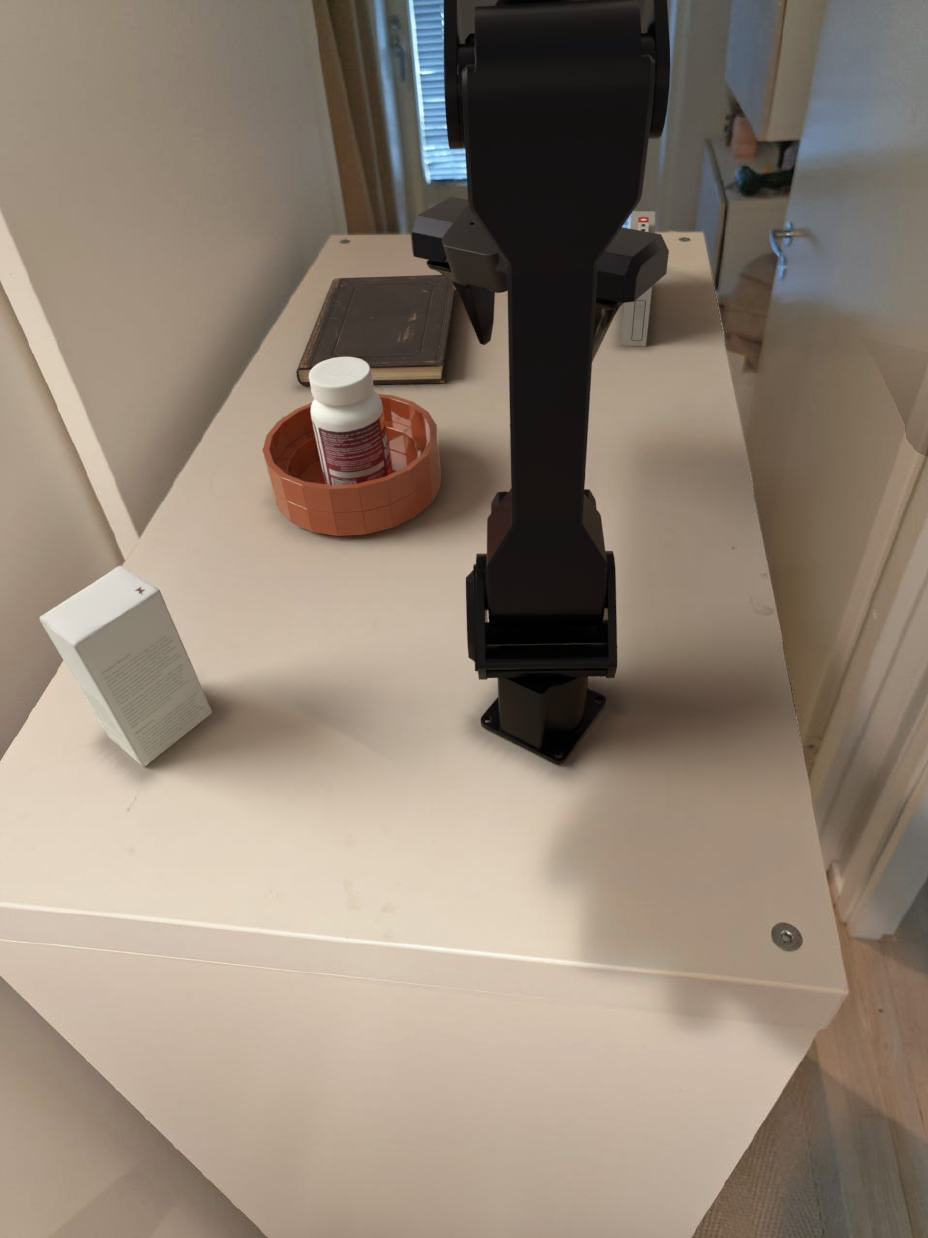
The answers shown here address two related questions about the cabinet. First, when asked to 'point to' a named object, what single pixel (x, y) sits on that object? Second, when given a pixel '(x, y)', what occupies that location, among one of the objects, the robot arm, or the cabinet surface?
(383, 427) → the pill bottle
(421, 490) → the bowl
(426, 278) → the hardcover book
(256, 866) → the cabinet surface
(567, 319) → the robot arm
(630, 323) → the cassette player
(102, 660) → the cosmetic box
